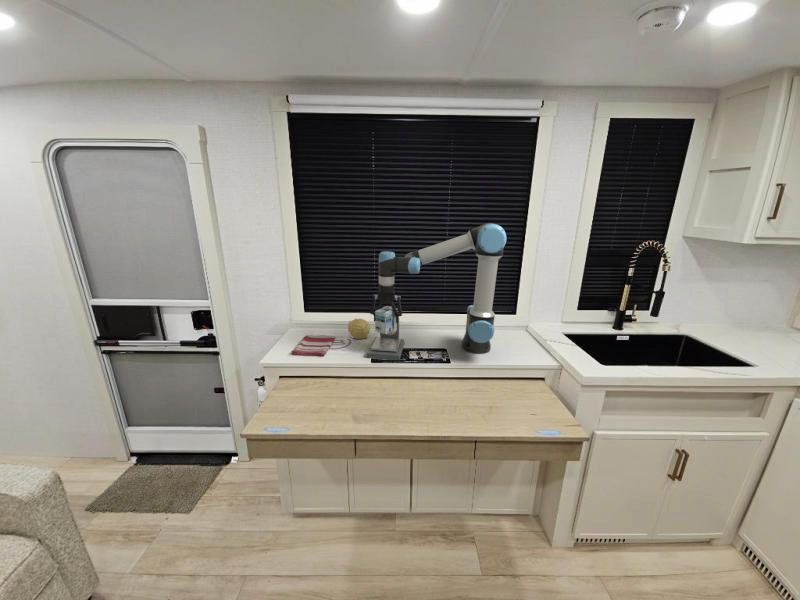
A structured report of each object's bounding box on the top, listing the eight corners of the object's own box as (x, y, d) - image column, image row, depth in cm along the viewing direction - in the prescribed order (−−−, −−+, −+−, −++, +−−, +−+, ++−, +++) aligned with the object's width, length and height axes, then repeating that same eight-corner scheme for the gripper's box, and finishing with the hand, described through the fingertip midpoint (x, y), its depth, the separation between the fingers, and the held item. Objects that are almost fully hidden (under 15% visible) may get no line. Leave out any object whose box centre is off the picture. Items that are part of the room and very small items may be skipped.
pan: (400, 342, 171) (400, 339, 171) (397, 352, 159) (397, 349, 158) (376, 340, 173) (376, 337, 172) (371, 351, 160) (371, 348, 160)
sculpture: (345, 339, 180) (344, 321, 177) (355, 331, 191) (354, 314, 188) (364, 342, 177) (364, 323, 174) (373, 334, 188) (373, 316, 185)
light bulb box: (385, 334, 157) (386, 313, 154) (374, 331, 161) (374, 310, 157) (397, 327, 166) (397, 307, 163) (386, 325, 169) (386, 305, 166)
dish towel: (290, 356, 161) (290, 351, 160) (306, 337, 183) (306, 333, 182) (324, 357, 160) (323, 352, 159) (336, 338, 182) (336, 334, 181)
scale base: (404, 343, 176) (404, 318, 172) (399, 360, 157) (399, 332, 153) (375, 341, 178) (375, 316, 174) (366, 357, 159) (366, 330, 155)
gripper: (409, 283, 159) (407, 326, 165) (366, 281, 161) (367, 324, 168) (407, 287, 152) (406, 332, 158) (363, 284, 154) (363, 329, 161)
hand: (386, 328), depth 163 cm, fingers closed on light bulb box, 8 cm apart
